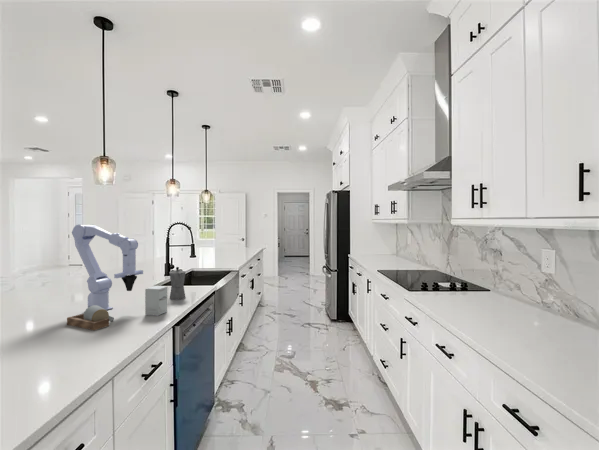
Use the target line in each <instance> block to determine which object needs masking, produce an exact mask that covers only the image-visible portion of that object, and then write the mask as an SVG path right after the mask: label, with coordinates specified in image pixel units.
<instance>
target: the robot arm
mask: <svg viewBox="0 0 599 450" xmlns="http://www.w3.org/2000/svg"><path fill="white" fill-rule="evenodd" d="M71 235H72V237H73V239H74V245H75V247H76V250H77V252H78V254H79V256H80V259H81V260H82V264H83V265H84V268H85V269H86V271H87V273H88V276H89V277H88V278H87V280H86V282H87V288H88V291H89V294H88V296H87V308H88V307H90V306H93V305H97V306H100V307H102V308H104V309H105V310H107V311H108V310H112V309H113V307H112V306H110V304H109V303H110V299H109V298H110V296H109V292H110V290H111V288H112V286H113V281H112V279H111V278H110V277H109V275H108V274H106V273H105V272H103V271H102V270H101V267H100V266H99V263H98V261H97V259H96V257H95V255H94V252H93V250H92V248H91V246H90V243H91V242H92V240H93V239H94V238H95V237H96V236H97V237H100V238H103V239H106V240H108V243H109V244H111V245H113V246H116V247H118V248H119V249H120V250H121V254H122V272H117V273H114V274H113V276H114V279H120V278H121V280H122V281H123V284H124V285H125V289H126V291H127V292H131V291H132V290H133V287H134V284H135V282H136V280H137V278H138V275H144V270H141V269H139V270H136V267H137V265H136V262H137V260H136V256H137V255H136V253H137V251H136V250H137V249H138V247H139V243H138V240H136V239H135V238H129V237H128V236H124V235H122V234H121V232H113V233H112V232H109V231H107V230H105V229H103V228H102V227H99V225H95V224H76V225H74V227H73V228H72V231H71Z"/></svg>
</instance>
